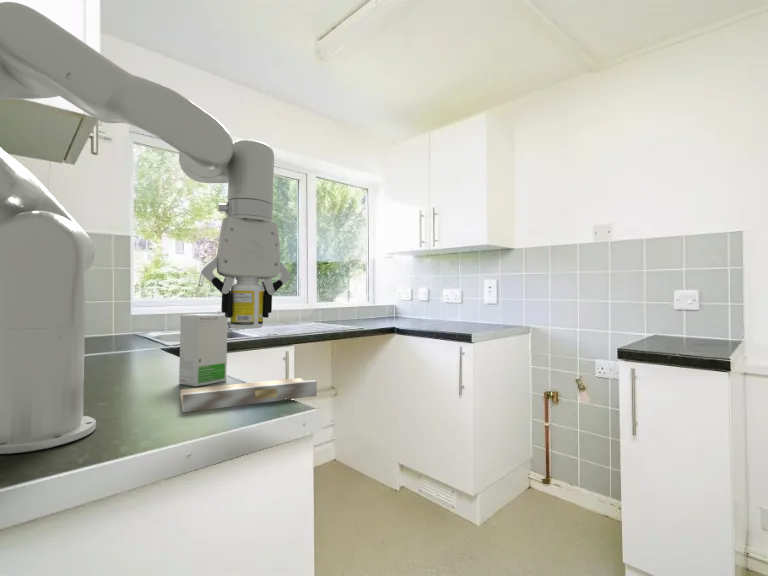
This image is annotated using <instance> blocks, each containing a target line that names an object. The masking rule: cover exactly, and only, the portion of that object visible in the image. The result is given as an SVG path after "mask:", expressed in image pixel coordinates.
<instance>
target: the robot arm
mask: <svg viewBox="0 0 768 576" xmlns="http://www.w3.org/2000/svg"><path fill="white" fill-rule="evenodd" d="M55 97H56V98H57V97H60V98H62V99H64V100H66V101H67V102H68V103H70V104H71V105H73V106H75V107H76V108H78V109H80V110H82V111H83V112H84V113H85V114H88V115H89V116H91V117H92V118H94V119H96V120H97V121H100V122H102V123H105V124H126V125H131V126H133V127H136V128H138V129H141V130H143V131H144V132H147V133H149V134H151V135H152V136H154V137H156V138H158V139H160V140H161V141H163V142H165V143H166V144H168V145H169V146H171V147H172V148H174V149H175V150H177V151H178V152H179V153H178V162H179V163H178V164H179V167H180V169H181V171H183V173H184V174H185V175H186V176H187V178H189V179H191V180H193V181H195V182H198V183H203V184H227V201H226V202H225V203H224V202H223V203H218V206H217V207H218V209H217V211H218V212H221V213H224V214H225V215H226V216H225V217H224V218H223V219H222V221H221V225H220V233H219V238H218V244H217V255H216V256H215V257H214V258H213V259H212V261H210V262H209V263H208V264H207V265H206V266H205V267H204V268H202V270H201V272H200V274H201V276H203V277H204V278H205V279H206V280H208V282H210V283H211V284H212V285H213V286H214V287H215V288H216V289H217V290H218V291H219V292H220V293H221V307H220V308H221V313H222V314H223V313H224V315H225V317H227V318H230V317H232V297H233V295H231V287H232V286H233V285H234V284H233V283H234V281H235V280H236V277H250V278H260V279H259V281H260V282H261V283H260V284H261V285H262V286H263V290H264V294H263V319H264V318H265V319H268V318H269V315H270V314H271V313H272V310H273V309H272V308H273V295H274V294H275V293H276V292H277V291H278V290H279V289H280V288H281V287H283V285H284V284H286V282H288V281H289V280H291V278H292V274H291V273H290V271H288V269H287V268H286V267H285V265H284V264H283V263H282V262H281V247H280V246H281V245H280V236H279V235H280V233H279V227H278V223H277V222H275V221H273V210H274V209H273V203H274V177H275V176H274V175H275V171H274V170H275V154H274V150H273V149H272V147H271V146H269V144H268V143H265V142H263V141H258V140H254V139H248V138H247V139H245V138H244V139H239V140H236V141H233V139H232V136H231V134H230V132H229V131H228V129H227V128H226V127H225V126H224V125H223V124H222V123H221V122H220V121H219V120H217V118H215V117H214V116H212V114H210V113H208V112H207V111H206V110H204V109H202V108H201V107H200V106H199V105H197V104H195V103H194V102H193V101H191V100H189V98H187V97H185V96H184V95H182V94H180V93H179V92H177V91H175V90H174V89H171V88H169V87H168V86H165V85H163V84H160V83H157V82H155V81H152V80H149V79H147V78H144V77H142V76H137V75H134V74H131V72H128V71H127V70H125V69H124V68H122V67H120V66H119V65H118V64H116V63H115V62H113V61H112V60H110V59H109V58H108V57H106V56H104V55H102V54H101V53H100V52H99V51H96V50H95V49H94V48H92V47H91V46H90V45H88V44H87V43H85V42H84V41H82V39H81V40H80V39H79V38H78V37H76V36H75V35H73V34H72V33H71V32H69V31H67V30H66V29H65V28H63V27H62V26H60V25H59V24H57V23H55V22H54V21H53V20H52V19H50V18H48V17H47V16H45V15H44V14H42V13H41V12H39V11H38V10H36V9H34V8H33V7H30V6H27V5H26V4H22V3H18V2H14V1H3V2H0V100H35V99H37V100H40V99H50V98H55ZM95 251H96V249H95V247H94V243H93V241H92V239H91V238H90V236H89V234H88V233H86V231H85V230H84V229H83V228H82V227H81V226H80V225H79V224H78V222H77V221H76V220H75V219H74V218H73V217H72V216H71V215H70V213H68V211H66V210H65V208H64V207H63V206H62V205H61V204H60V203H59V202H58V200H57V199H56V198H55V197H54V196H53V195H52V194H51V193H50V192H49V190H48V189H47V188H46V187H45V186H44V184H42V182H41V181H40V180H38V178H37V177H36V176H35V175H34V174H33V173H31V171H30V170H28V169H27V168H26V167H25V166H23V164H21V163H20V162H19V161H18V160H16V159H15V158H14V157H12V156H11V155H10V154H9V153H7V152H6V151H5V150H3V148H2V147H0V455H5V454H6V455H8V454H9V455H10V454H20V453H27V452H28V453H29V452H34V451H40V450H44V449H50V448H54V447H57V446H61V445H66V444H69V443H72V442H74V441H78V440H80V439H82V438H84V437H87V436H89V435H90V434H91V433H93V432H94V431H95V429H96V428H97V421H96V418H93V417H91V416H88V415H84V390H85V388H84V387H85V386H84V385H85V380H84V378H85V342H86V341H85V336H86V330H85V329H86V324H85V323H86V317H85V316H86V293H85V292H86V291H85V290H86V289H85V274H86V273H87V271H89V269H90V268H91V267H92V266H93V263H94V260H95V257H96V256H95V255H96V253H95ZM215 269H216V273H217V274H218V275H220V276H221V277H224V279H223V280H221V279H220V278H219V277H217V276H216V275H215V274H214V273H213V272H214V270H215ZM277 277H278V278H277ZM274 278H275V279H276V278H277V279H276V280H275V281H272V279H274Z"/></svg>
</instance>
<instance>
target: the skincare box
mask: <svg viewBox="0 0 768 576" xmlns="http://www.w3.org/2000/svg"><path fill="white" fill-rule="evenodd" d="M179 317H180V330H179V331H180V334H179V336H180V337H179V338H180V340H179V371H178V383H179V385H183V386H189V387H195V388H198V387H200V386H205V385H212V384H216V383H217V382H218V383H223V382H226V381H227V366H228V365H227V364H228V363H227V361H228V359H227V358H228V320H229V319H228V318H227V317H225V313H224V314H223V313H222V314H220V313H218V314H214V313H200V314H199V313H196V314H195V313H194V314H193V313H187V314H186V313H185V314H180V316H179ZM218 383H217V384H218Z"/></svg>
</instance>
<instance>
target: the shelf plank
mask: <svg viewBox="0 0 768 576" xmlns="http://www.w3.org/2000/svg"><path fill="white" fill-rule="evenodd" d="M317 382H318V381H317V380H316V379H315V380H313V379H312V380H304V379H302V378H301V377H296V378H287V379H277V380H276V379H275V380H265V381H254V382H245V383H234V384H233V383H232V384H224V385H214V386H204V387H195V388H194V387H192V388H184V389H183V388H182V389H180V391H179V392H180V403H181V410H182V413H188V412H196V411H205V410H213V409H222V408H229V407H230V408H231V407H237V406H246V405H253V404H261V403H263V404H264V403H271V402H279V401H287V399H288V400H296V399H304V398H312V397H317V396H318V395H317V391H318V390H317V387H318V386H317V385H318V383H317ZM285 398H287V399H285Z"/></svg>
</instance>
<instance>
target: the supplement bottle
mask: <svg viewBox="0 0 768 576" xmlns="http://www.w3.org/2000/svg"><path fill="white" fill-rule="evenodd" d="M235 281H236V283H234V284H232V286H231V289H230V290H231V295H233V297H232V317H230V320H229V321H230V328H231V329H236V330H237V329H239V330H247V329H249V330H250V329H251V330H252V329H261V328H263V325H264V324H263V323H264V317H263V294H264V289H263V286H262V284H261V283H260V284H259V281H260V278H250V277H236V278H235Z"/></svg>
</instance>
